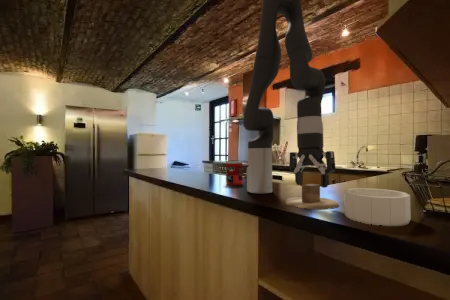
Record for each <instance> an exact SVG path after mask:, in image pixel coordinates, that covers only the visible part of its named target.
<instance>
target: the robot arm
mask: <svg viewBox="0 0 450 300" xmlns="http://www.w3.org/2000/svg"><path fill="white" fill-rule="evenodd" d="M278 15H283V17H284V19H285V20H286V24H287V29H286V33H285V37H284V46H285V51H286V53H287V57H288V59H289V79H290V82H291V84H292V86H293V87H294V88H295V89H297V90H300V91H304V97H303V98H301V99H299V100H298V101H297V103H296V115H297V117H296V118H297V120H296V121H297V123H296V140H297V141H296V142H297V143H296V145H297V146H296V147H297V149H298V151H293V152H291V151H290V152H289V165H288V167H289V168H288V169H289V171H290V172H293V173H294V177H295V178H294V179H295V180H294V182H295V183H296V185H297V186H302V185H303V170H304V169H305V168H306V167H316V169H318V170H319V172H320V173H321V175H320V184H321V185H320V188H324V189H325V188H327V187H328V186H330V174H331V173H333V172H336V160H335V158H336V157H335V152H334V151H333V150H328V151H324V124H323V119H322V118H323V117H322V101H323V97H324V92H325V89H326V87H325V86H326V77H325V74H324V71H322V70H321V69H318V68H315V67H312V66H310V65H309V63H310V62H311V61H312V59H313V50H312V47H311V45H310V42H309V39H308V36H307V35H308V34H307V32H306V29H305V23H304V15H303V9H302V2H301V0H262V3H261V14H260V25H259V33H258V34H259V35H258V41H257V47H256V51H255V57H254V63H253V70H252V77H251V83H250V87H249V93H248V96H247V99H246V104H245V108H244V110H243V111H244V112H243V116H242V120H243V121H242V123H243V127H244V129H245V130H246V131H249V132H252V131H253V132H258V134H257V136H256V137H254V138H253V139H251V140H249V141H248V142H247V154H248V155H247V159H248V160H247V161H248V166H247V167H246V191H247V192H249V193H251V194H270V193H273V157H272V156H273V152H272V150H273V149H272V146H273V144H272V143H273V140H274V126H275V125H274V123H275V120H274V113H273V111H272V109H271V108H267V107H260V104H261V101H262V98H263V95H264V94H265V92H266V91H267V90H268V88H269V87H270V86H271V85H272V84H273V82H274V81H275V79H276V78H277V76H278V73H279V71H280V66H281V60H282V49H281V44H280V40H279V38H278V33H277V17H278ZM298 159H299V160H298ZM323 159H325V161H326V162H324V160H323Z"/></svg>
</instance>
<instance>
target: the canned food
mask: <svg viewBox="0 0 450 300" xmlns="http://www.w3.org/2000/svg"><path fill="white" fill-rule="evenodd" d="M243 177H244V176H243V161H226V162H225V180H226V183H225V184H226V185H227V186H241V185H243V181H244V179H243Z"/></svg>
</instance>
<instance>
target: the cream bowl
mask: <svg viewBox="0 0 450 300" xmlns="http://www.w3.org/2000/svg"><path fill="white" fill-rule="evenodd" d="M343 204H344V205H343V208H344V209H343V210H344V216H346V217H345V218H346V219H348V218H349V220H351V221H352V222H353V221H354V222H356V221H357V222H358V223H360V222H361V223H362V224H366V225H371V224H372V226H379V225H382V227H403V226H406V225H409V224H410V221H412V220H411V219H412V218H411V216H412V215H411V214H412V213H411V195H410V194H408V193H407V192H404V191H399V190H394V189H384V188H367V187H363V188H361V187H360V188H357V187H356V188H348V189H344V190H343ZM361 223H360V224H361Z"/></svg>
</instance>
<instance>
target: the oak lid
mask: <svg viewBox="0 0 450 300" xmlns="http://www.w3.org/2000/svg"><path fill="white" fill-rule="evenodd" d="M285 204H286V205H287V206H289V205H290V206H289V207H293V208H297V207H298V209H304V208H307V209H306V210H329V209H328V208H332V209H335V208H334V207H336V208H338V207H339V202H338V201H336V200H334V199H331V198H324V197H321V185H320V184H319V183H318V184H316V183H308V184H307V183H306V184H302V185H301V196H296V197H290V198H286V199H285ZM337 206H338V207H337Z"/></svg>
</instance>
